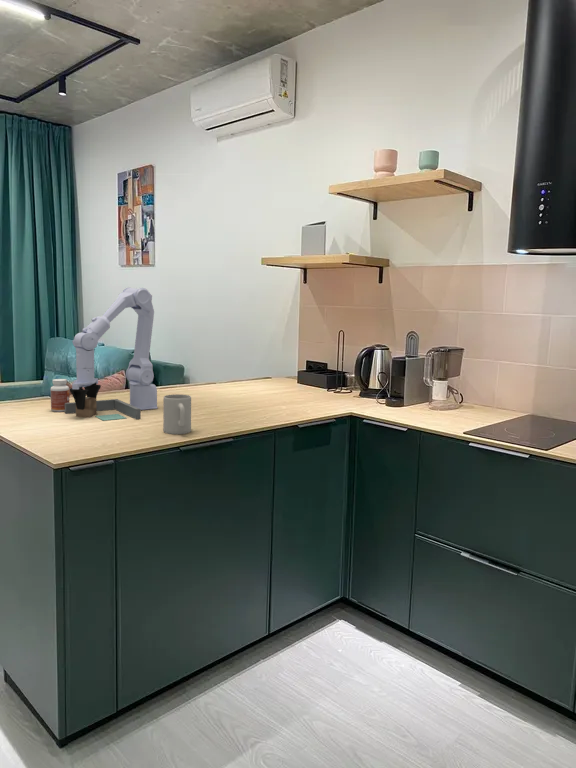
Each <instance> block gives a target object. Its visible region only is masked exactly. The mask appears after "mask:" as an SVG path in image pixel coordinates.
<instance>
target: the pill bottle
mask: <svg viewBox="0 0 576 768" xmlns="http://www.w3.org/2000/svg"><path fill="white" fill-rule="evenodd" d="M67 383H68V381H67V378H55V379H52V386H51V387H50V408H51V409H50V410H51V411H52V412H56V413H61V412H62V413H63V412H64V413H65V403H71V402H70V386H68V385H67Z"/></svg>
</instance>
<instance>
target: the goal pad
mask: <svg viewBox="0 0 576 768" xmlns="http://www.w3.org/2000/svg"><path fill="white" fill-rule="evenodd" d="M94 417H95V418H97V419H99V420H101V421H103V422H105V421H115V420H125V419H127V417H125V416H124V415H121V414H120V413H115V414H114V413H113V414H111V413H110V414H101V415H95V416H94Z"/></svg>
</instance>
